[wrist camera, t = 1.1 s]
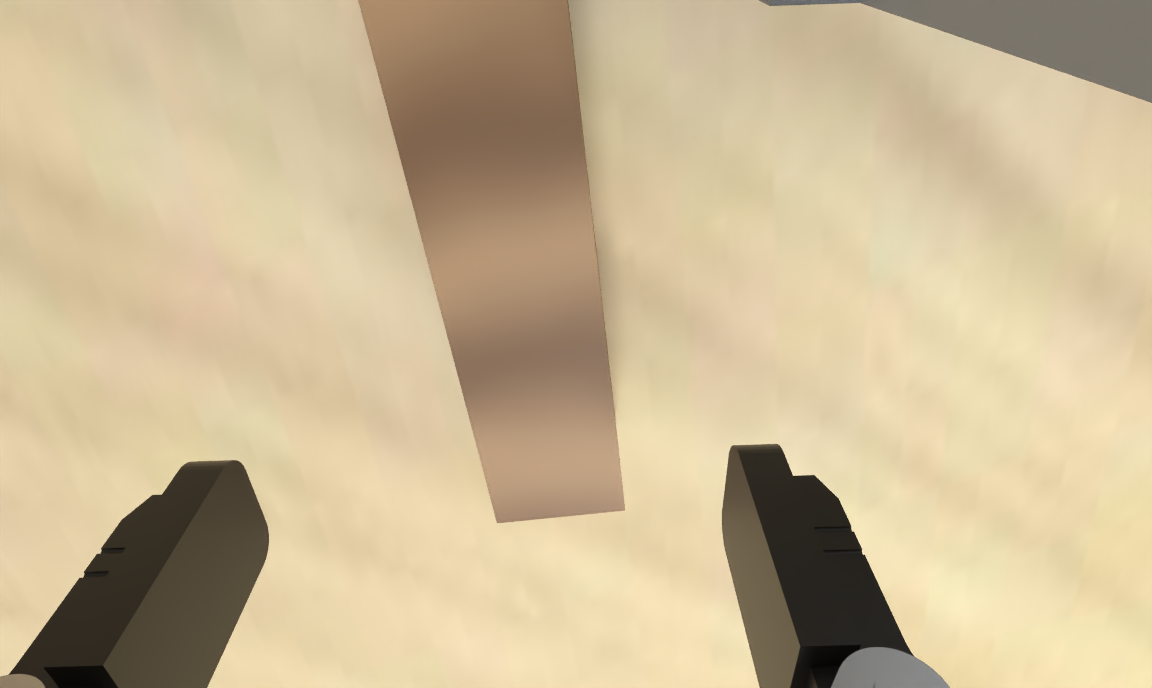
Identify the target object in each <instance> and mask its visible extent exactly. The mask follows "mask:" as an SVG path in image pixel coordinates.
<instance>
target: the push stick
mask: <svg viewBox="0 0 1152 688" xmlns="http://www.w3.org/2000/svg"><path fill="white" fill-rule="evenodd" d="M359 4H360V8H361V12H362V15H363V19H364V23H365V27H366V31H367V34H368V38H369V42H370V46H371V49H372V53H373V57H374V61H375V64H376V68H377V72H378V76H379V80H380V83H381V87H382V91H383V95H384V98H385V102H386V106H387V110H388V113H389V117H390V121H391V125H392V129H393V132H394V136H395V140H396V144H397V147H398V151H399V155H400V159H401V162H402V166H403V170H404V174H405V178H406V181H407V185H408V189H409V193H410V196H411V200H412V204H413V208H414V211H415V215H416V219H417V223H418V227H419V230H420V234H421V238H422V242H423V245H424V249H425V253H426V257H427V260H428V264H429V268H430V272H431V276H432V279H433V283H434V287H435V291H436V294H437V298H438V302H439V306H440V309H441V313H442V317H443V321H444V325H445V328H446V332H447V336H448V340H449V343H450V347H451V351H452V355H453V358H454V362H455V366H456V370H457V374H458V377H459V381H460V385H461V389H462V392H463V396H464V400H465V404H466V407H467V411H468V415H469V419H470V423H471V426H472V430H473V434H474V438H475V441H476V445H477V449H478V453H479V456H480V460H481V464H482V468H483V472H484V475H485V479H486V483H487V487H488V490H489V494H490V498H491V502H492V505H493V509H494V513H495V517H496V521H497V523H504V522H514V521H524V520H534V519H544V518H554V517H564V516H574V515H584V514H594V513H604V512H614V511H624V510H625V505H624V496H623V487H622V477H621V468H620V459H619V450H618V441H617V431H616V422H615V413H614V404H613V396H612V387H611V378H610V369H609V360H608V351H607V342H606V334H605V325H604V316H603V307H602V298H601V289H600V280H599V272H598V263H597V254H596V245H595V236H594V227H593V218H592V210H591V201H590V192H589V183H588V174H587V165H586V156H585V148H584V139H583V130H582V121H581V112H580V103H579V94H578V86H577V77H576V68H575V59H574V50H573V41H572V32H571V24H570V15H569V6H568V0H359Z"/></svg>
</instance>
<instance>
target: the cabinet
mask: <svg viewBox="0 0 1152 688" xmlns="http://www.w3.org/2000/svg"><path fill="white" fill-rule="evenodd" d="M759 1H761V2H763V3H765V4H767V5H769V6H781V5H810V4H839V3H862V4H865V5H868V6H871V7H874V8H877V9H879V10H882V11H885V12H888V13H891V14H894V15H897V16H900V17H903V18H906V19H909V20H912V21H915V22H918V23H920V24H923V25H926V26H929V27H932V28H935V29H938V30H941V31H944V32H947V33H950V34H953V35H956V36H958V37H961V38H964V39H967V40H970V41H973V42H976V43H979V44H982V45H985V46H988V47H991V48H994V49H996V50H999V51H1002V52H1005V53H1008V54H1011V55H1014V56H1017V57H1020V58H1023V59H1026V60H1029V61H1032V62H1034V63H1037V64H1040V65H1043V66H1046V67H1049V68H1052V69H1055V70H1058V71H1061V72H1064V73H1067V74H1070V75H1072V76H1075V77H1078V78H1081V79H1084V80H1087V81H1090V82H1093V83H1096V84H1099V85H1102V86H1105V87H1108V88H1110V89H1113V90H1116V91H1119V92H1122V93H1125V94H1128V95H1131V96H1134V97H1137V98H1140V99H1143V100H1146V101H1148V102H1151V103H1152V0H759Z"/></svg>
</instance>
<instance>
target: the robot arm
mask: <svg viewBox="0 0 1152 688" xmlns="http://www.w3.org/2000/svg"><path fill="white" fill-rule="evenodd" d="M722 531H723V540H724V546H725V551H726V555H727V559H728V563H729V567H730V571H731V575H732V579H733V583H734V587H735V591H736V595H737V599H738V603H739V607H740V611H741V615H742V619H743V623H744V627H745V631H746V635H747V639H748V643H749V647H750V651H751V654H752V658H753V662H754V666H755V670H756V674H757V678H758V682H759V686H760V688H950V687H949V686H948V684H947V683H946V682H945V681H944V680H943V678H942V677H941V676H940V675H939V674H938V673H937V672H935V671H934V670H933V669H932V668H931V667H929V666H928V665H927V664H925V663H924V662H922V661H921V660H919V659H917V658H916V657H914V655H913V654H912V653H911V651H910V650H909V648H908V646H907V644H906V642H905V640H904V638H903V636H902V634H901V632H900V630H899V627H898V625H897V623H896V621H895V619H894V617H893V615H892V612H891V610H890V608H889V606H888V604H887V602H886V600H885V597H884V595H883V593H882V591H881V589H880V587H879V585H878V582H877V580H876V578H875V576H874V574H873V572H872V570H871V567H870V565H869V563H868V561H867V559H866V557H865V555H863V554H862V548H861V546H860V544H859V542H858V540H857V537H856V535H855V533H854V532H852V530H851V525H850V522H849V520H848V518H847V516H846V514H845V512H844V509H843V507H842V505H841V503H840V501H839V499H838V498H837V497H836V496H835V495H834V494H833V493H832V492H831V491H830V490H829V489H828V488H827V487H826V486H825V485H824V484H823V483H822V482H821V481H820V480H819V479H818V478H817V477H816V476H815V475H806V476H793V475H792V472H791V470H790V467H789V465H788V462H787V460H786V457H785V455H784V452H783V450H782V448H781V447H780V446H779V445H778V444H763V445H733V446H732V447H731V449H730V452H729V459H728V467H727V475H726V484H725V492H724V500H723V509H722ZM268 545H269V533H268V526H267V523H266V520H265V518H264V515H263V513H262V510H261V508H260V505H259V503H258V500H257V498H256V495H255V492H254V490H253V487H252V485H251V482H250V480H249V477H248V475H247V472H246V470H245V468H244V466H243V465H242V463H240V462H239V461H236V460H229V461H198V462H188V463H186V464H184V465H183V466H182V467H181V468H180V470H179V471H178V472H177V474H176V475H175V477H174V478H173V480H172V481H171V483H170V484H169V485H168V487H167V488H166V490H165V491H164V493H163V494H162V495H152V496H151V497H150V498H148V499H147V500H146V501H145V502H143V503H142V504H141V505H140V506H138V507H137V508H136V509H135V510H134V511H132V512H131V513H130V514H129V515H127V516H126V517H125V518H124V519H122V520H121V522H120V523H119V525H118V526H117V527H116V529H115V530H114V531H113V533H112V534H111V536H110V537H109V538H108V540H107V541H106V542H105V544H104V545H103V547H102V548H101V549H102V551H101V554H97V555H96V556H95V558H94V559H93V560H92V562H91V563H90V564H89V566H88V567H87V569H86V570H85V571H84V573H85V574H84V577H83V578H79V580H78V581H77V582H76V584H75V585H74V586H73V588H72V589H71V591H70V592H69V593H68V595H67V596H66V597H65V599H64V600H63V602H62V603H61V604H60V606H59V607H58V608H57V610H56V611H55V613H54V614H53V615H52V617H51V618H50V619H49V621H48V622H47V624H46V625H45V626H44V628H43V629H42V630H41V632H40V633H39V635H38V636H37V637H36V639H35V640H34V641H33V643H32V644H31V646H30V647H29V648H28V650H27V651H26V652H25V654H24V655H23V657H22V658H21V659H20V661H19V662H18V663H17V665H16V666H15V667H14V669H13V670H12V671H11V672H10V674H9V675H6V676H1V677H0V688H207V687H208V684H209V682H210V680H211V678H212V676H213V674H214V671H215V669H216V667H217V665H218V663H219V661H220V658H221V656H222V654H223V652H224V650H225V647H226V645H227V643H228V641H229V639H230V637H231V634H232V632H233V630H234V628H235V626H236V624H237V621H238V619H239V617H240V615H241V613H242V611H243V608H244V606H245V604H246V602H247V600H248V598H249V595H250V593H251V591H252V589H253V587H254V585H255V582H256V580H257V578H258V576H259V574H260V572H261V569H262V567H263V565H264V562H265V560H266V556H267V552H268Z"/></svg>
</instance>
